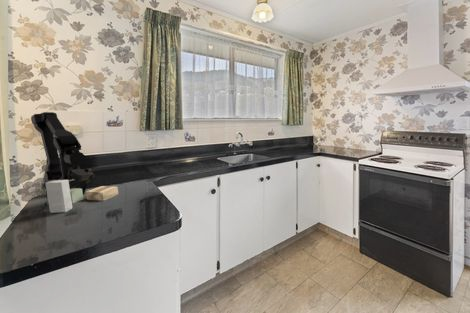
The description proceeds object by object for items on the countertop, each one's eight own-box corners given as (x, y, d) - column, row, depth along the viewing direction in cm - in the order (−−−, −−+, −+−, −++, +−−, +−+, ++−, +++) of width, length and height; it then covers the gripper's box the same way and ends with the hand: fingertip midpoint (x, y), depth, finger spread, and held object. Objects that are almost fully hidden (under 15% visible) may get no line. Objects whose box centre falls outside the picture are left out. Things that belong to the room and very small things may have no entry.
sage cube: (64, 202, 99) (62, 191, 98) (74, 198, 104) (73, 188, 103) (72, 203, 98) (71, 191, 97) (83, 199, 102) (82, 188, 102)
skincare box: (73, 208, 91) (69, 179, 89) (65, 212, 87) (61, 182, 85) (57, 208, 91) (53, 179, 89) (49, 213, 87) (44, 182, 85)
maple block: (86, 200, 102) (85, 191, 101) (102, 193, 110) (101, 186, 110) (103, 201, 100) (102, 192, 99) (118, 194, 108) (117, 186, 108)
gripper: (61, 168, 87) (67, 207, 89) (101, 160, 105) (105, 192, 107) (40, 167, 90) (46, 205, 92) (82, 159, 108) (86, 191, 110)
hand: (73, 198), depth 100 cm, fingers open, 9 cm apart
